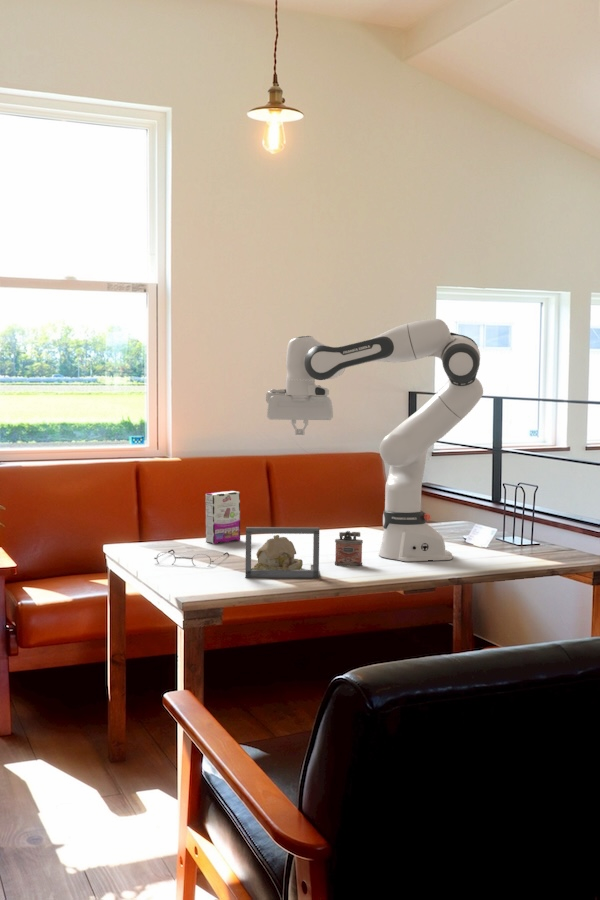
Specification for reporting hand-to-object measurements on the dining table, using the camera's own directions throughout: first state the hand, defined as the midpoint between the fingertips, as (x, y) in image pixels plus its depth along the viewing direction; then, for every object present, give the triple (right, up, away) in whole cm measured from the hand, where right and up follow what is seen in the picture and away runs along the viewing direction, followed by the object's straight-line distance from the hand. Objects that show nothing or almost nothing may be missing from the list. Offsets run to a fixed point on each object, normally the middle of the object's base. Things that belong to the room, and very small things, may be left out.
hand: (299, 434), depth 284 cm
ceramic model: (-6, -39, -19) cm, 44 cm away
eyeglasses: (-32, -38, -6) cm, 50 cm away
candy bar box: (-25, -35, +24) cm, 50 cm away
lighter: (+14, -39, -12) cm, 43 cm away
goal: (-5, -39, -25) cm, 47 cm away
